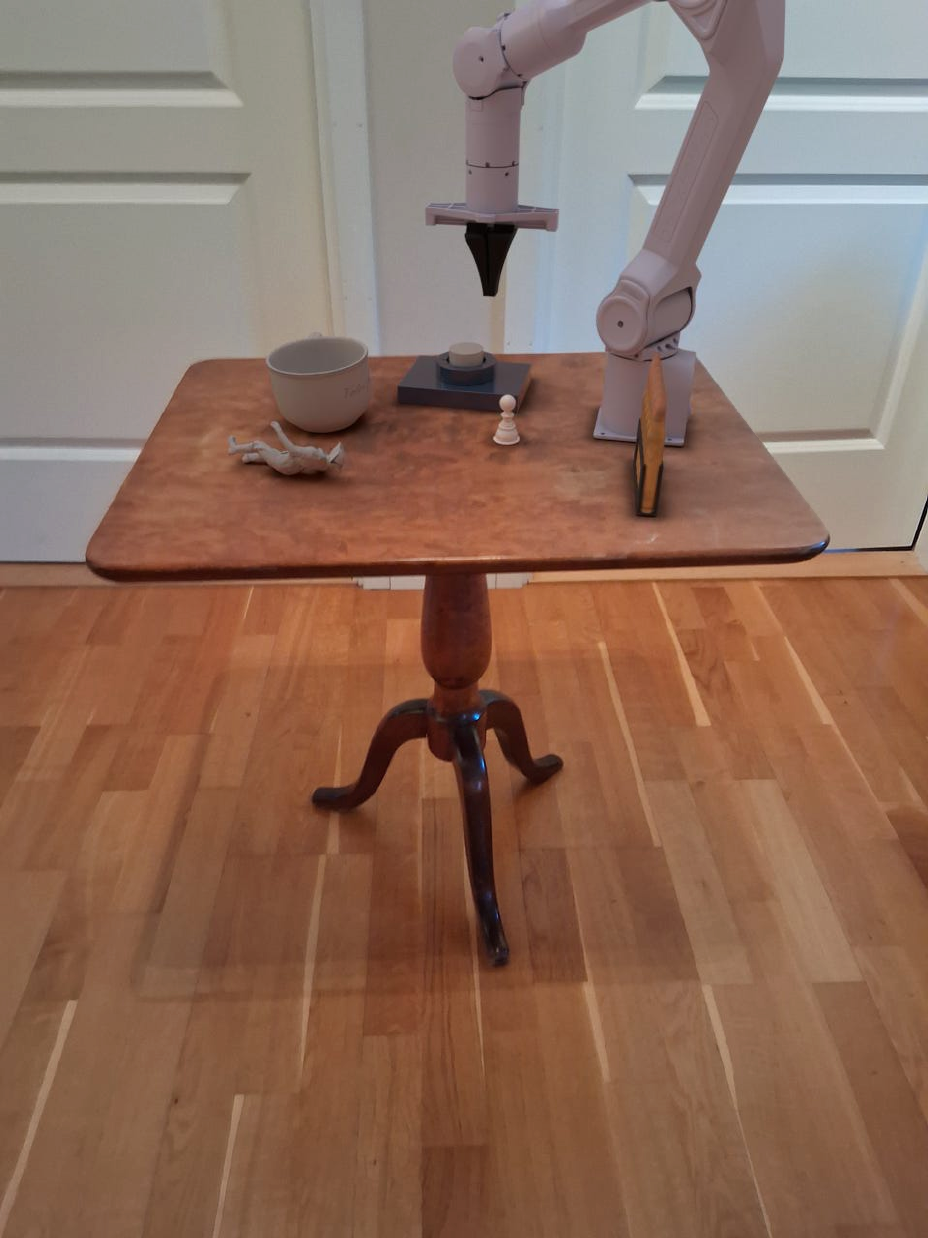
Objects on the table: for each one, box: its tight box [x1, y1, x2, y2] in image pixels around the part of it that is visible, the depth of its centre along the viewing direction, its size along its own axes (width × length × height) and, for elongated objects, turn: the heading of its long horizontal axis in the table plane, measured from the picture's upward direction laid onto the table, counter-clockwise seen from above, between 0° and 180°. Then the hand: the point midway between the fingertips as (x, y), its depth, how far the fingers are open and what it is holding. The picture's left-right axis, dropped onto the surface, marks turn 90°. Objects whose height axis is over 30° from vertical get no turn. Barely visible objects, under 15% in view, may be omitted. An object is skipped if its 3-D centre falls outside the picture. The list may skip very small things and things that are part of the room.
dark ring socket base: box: [396, 350, 533, 415], centre depth 105 cm, size 14×10×4 cm
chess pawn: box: [492, 395, 521, 446], centre depth 94 cm, size 3×3×5 cm
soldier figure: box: [227, 420, 346, 476], centre depth 89 cm, size 8×5×12 cm
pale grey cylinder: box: [448, 341, 485, 367], centre depth 104 cm, size 4×4×2 cm
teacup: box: [265, 331, 372, 434], centre depth 98 cm, size 14×11×8 cm
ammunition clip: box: [632, 352, 667, 517], centre depth 83 cm, size 11×2×12 cm, turn 173°
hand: (490, 293), depth 103 cm, fingers closed
